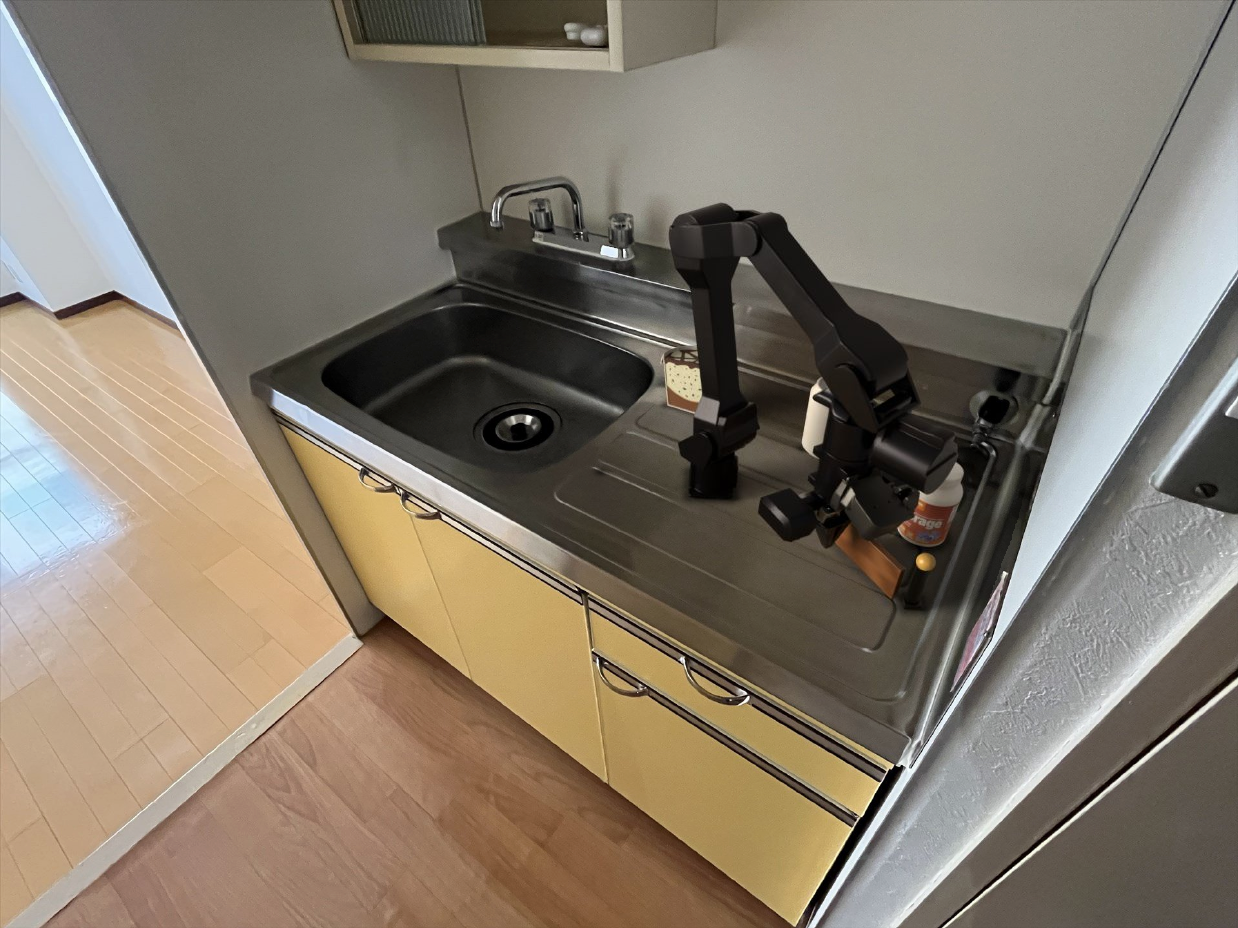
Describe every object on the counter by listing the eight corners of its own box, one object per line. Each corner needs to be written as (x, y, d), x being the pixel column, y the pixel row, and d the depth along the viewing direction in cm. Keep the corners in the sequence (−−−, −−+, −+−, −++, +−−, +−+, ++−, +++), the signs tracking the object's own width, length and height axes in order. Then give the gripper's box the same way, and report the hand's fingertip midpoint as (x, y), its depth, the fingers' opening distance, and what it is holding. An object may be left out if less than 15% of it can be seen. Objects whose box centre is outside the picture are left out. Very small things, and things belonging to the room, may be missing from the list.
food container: (738, 405, 112) (743, 354, 106) (723, 422, 108) (727, 370, 102) (676, 387, 118) (677, 337, 111) (660, 403, 114) (660, 352, 107)
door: (827, 534, 86) (833, 507, 83) (836, 531, 86) (843, 503, 83) (891, 599, 77) (900, 571, 74) (901, 595, 77) (911, 566, 74)
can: (852, 466, 98) (868, 399, 90) (801, 461, 99) (813, 395, 92) (848, 437, 104) (863, 372, 96) (800, 433, 105) (811, 369, 97)
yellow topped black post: (903, 609, 76) (921, 561, 71) (899, 596, 78) (916, 548, 73) (921, 610, 76) (940, 562, 71) (917, 597, 78) (935, 549, 73)
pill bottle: (888, 534, 86) (908, 470, 79) (906, 510, 90) (926, 446, 83) (935, 555, 83) (960, 490, 76) (952, 529, 86) (977, 465, 80)
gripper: (827, 516, 63) (804, 618, 72) (970, 463, 68) (931, 564, 78) (762, 454, 71) (749, 553, 80) (894, 411, 76) (867, 508, 86)
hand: (826, 545), depth 81 cm, fingers closed
